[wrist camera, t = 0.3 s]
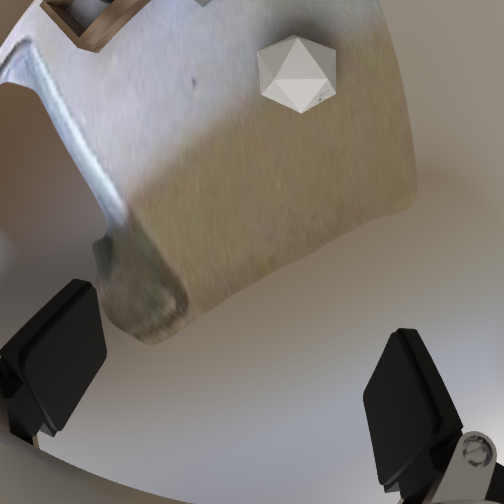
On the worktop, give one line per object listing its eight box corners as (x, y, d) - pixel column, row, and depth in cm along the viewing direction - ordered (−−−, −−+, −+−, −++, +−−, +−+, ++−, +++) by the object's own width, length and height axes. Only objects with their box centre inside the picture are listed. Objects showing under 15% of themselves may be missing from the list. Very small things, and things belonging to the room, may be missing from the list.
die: (258, 111, 35) (307, 134, 28) (230, 49, 28) (279, 55, 22) (309, 82, 35) (364, 100, 29) (288, 24, 29) (346, 27, 22)
